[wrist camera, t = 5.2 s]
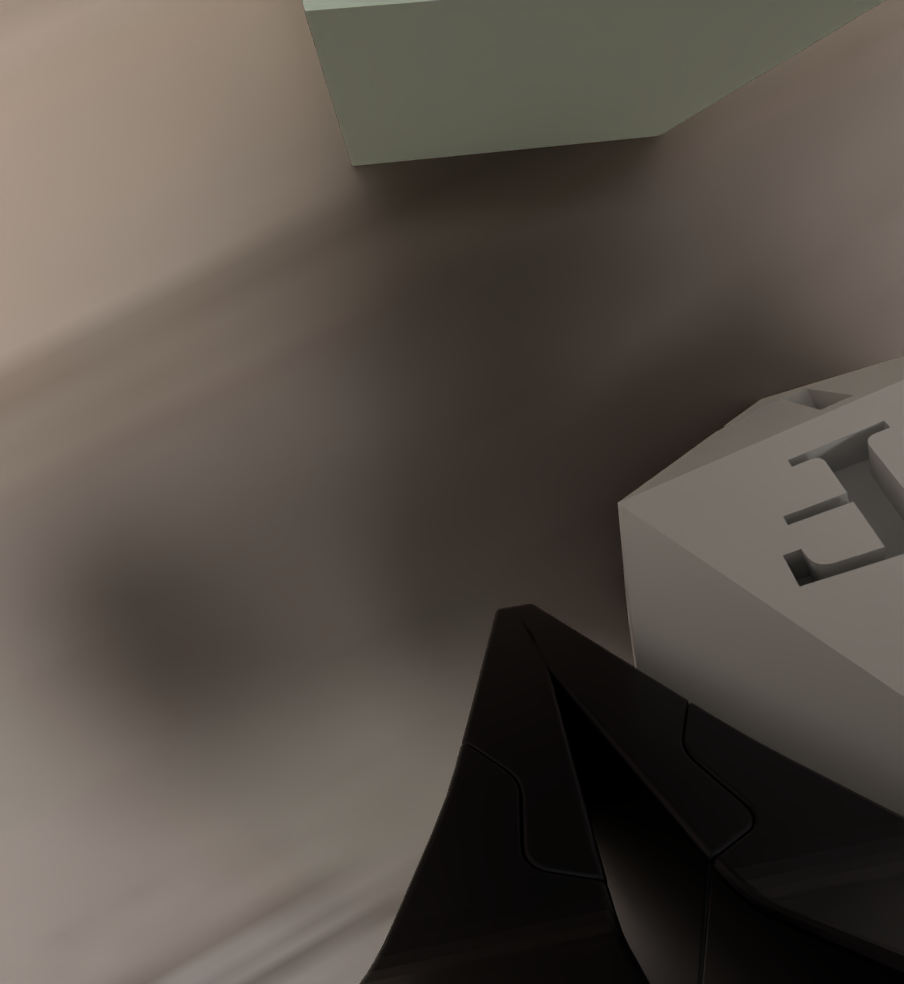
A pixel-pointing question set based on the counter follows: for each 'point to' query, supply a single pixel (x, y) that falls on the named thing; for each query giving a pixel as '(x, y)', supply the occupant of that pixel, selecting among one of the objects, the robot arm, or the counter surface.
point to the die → (785, 577)
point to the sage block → (544, 67)
